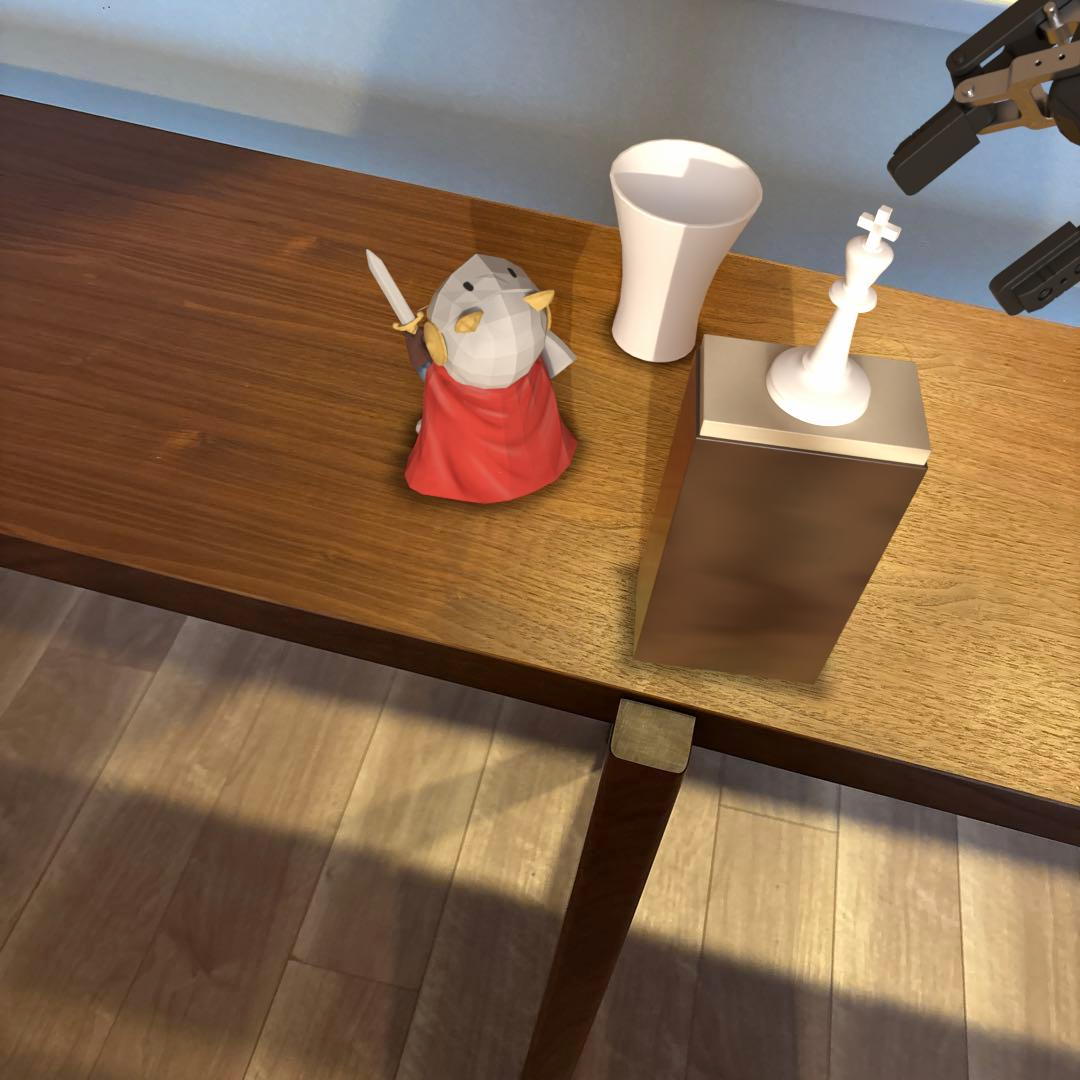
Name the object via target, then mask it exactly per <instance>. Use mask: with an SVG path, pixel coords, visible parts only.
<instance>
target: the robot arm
mask: <svg viewBox="0 0 1080 1080" xmlns="http://www.w3.org/2000/svg"><path fill="white" fill-rule="evenodd" d="M1002 48H1003V49H1002ZM1000 49H1002V51H1001V52H1000V53H999V54H997V55H996V56H995V57H993V58H991V60H989V62H987V63H986V64H985V65H983V66H982V65H981V64H982V63H984V62H985V61H986V60H987V59H989V58H990V57H991V56H992V55H994V54H995V53H996V52H998V51H999V50H1000ZM945 66H946V69H947V71H948V72H949V75H950V78H951V79H950V80H951V83H952V87H953V93H952V96H951V98H950V100H949V101H948V103H947V104H945V105H944V106H943V107H942V108H941V109H940V110H939V111H937V112H936V113H935V114H934V115H932V116H931V117H930V118H929V119H928V120H926V121H925V122H924V123H922V124H921V125H920V126H919V128H916V130H914V131H912V133H911V134H909V135H908V136H907V137H906V138H904V140H902V141H901V142H900V143H899V144H898V146H897V147H896V148H895V149H894V151H893V152H892V155H893V156H891V158H889V160H888V162H887V163H886V170H887V172H888V173H889V175H890V176H891V178H892V179H893V180H894V182H895V183H896V185H897V186H898V187H899V188H900V190H901V191H902V192H903V193H904V194H905V195H906V196H908V197H911V196H914V195H917V194H919V192H921V191H922V190H923V189H925V188H926V187H927V186H928V185H929V184H931V183H932V182H933V181H935V180H936V179H937V178H938V177H940V176H941V175H942V174H943V173H945V171H948V169H949V168H951V167H952V166H953V165H954V164H955V163H957V162H958V161H959V160H961V159H962V158H963V157H964V156H966V155H967V154H968V153H969V152H970V151H972V150H973V149H975V148H976V147H977V146H978V145H980V144H981V141H980V140H979V137H978V136H986V135H990V134H994V133H998V132H1002V131H1006V130H1010V129H1015V128H1019V127H1023V128H1027V129H1029V130H1033V131H1034V130H1036V131H1039V130H1044V129H1048V128H1052V127H1056V128H1057V130H1058V132H1059V133H1060V134H1061V135H1062V136H1063V137H1064V138H1065V139H1066V140H1067V141H1068V142H1070V143H1071V144H1074V145H1075V146H1076V145H1077V146H1079V147H1080V0H1016V1H1015V2H1013V3H1012V4H1011V5H1010V6H1008V7H1007V8H1006V9H1005V10H1003V11H1002V12H1001V13H1000V14H998V15H997V16H996V17H994V18H993V19H991V20H990V21H989V22H988V23H987V24H985V25H984V26H983V27H982V28H980V29H979V30H977V31H976V32H975V33H973V35H972V36H970V37H969V38H967V40H965V41H964V42H962V43H961V44H960V45H958V46H957V47H955V48H954V49H953V50H952V51H951V52H950V53H949V54H948V55H947V57H946V59H945ZM1047 82H1051V84H1050V87H1049V90H1048V92H1046V91H1045V90H1044V88H1043V86H1042V84H1044V83H1047ZM1079 282H1080V224H1079V225H1078V226H1076V225H1074V223H1072V221H1071V220H1067V222H1065V223H1064V224H1063V225H1061V226H1060V227H1059V228H1057V229H1056V230H1055V231H1054V232H1052V233H1050V234H1049V235H1048V236H1047V237H1045V238H1044V239H1043V240H1041V241H1040V242H1039V243H1037V244H1036V245H1035V246H1033V247H1032V248H1031V249H1029V250H1028V251H1026V252H1025V253H1024V254H1023V255H1022V256H1020V257H1018V258H1017V259H1016V260H1015V261H1013V262H1012V263H1011V264H1009V265H1008V266H1007V267H1005V268H1004V269H1002V270H1001V271H1000V272H998V273H996V275H995V276H994V277H992V279H991V280H990V281H989V284H988V288H989V291H990V292H991V294H992V296H993V297H994V299H995V300H996V302H997V304H998V305H999V306H1000V307H1001V308H1002V310H1003V311H1004V312H1005V313H1006V314H1007V315H1008V316H1011V317H1013V316H1018V315H1019V314H1021V313H1023V312H1024V311H1025V312H1027V314H1030V313H1033V312H1036V311H1039V310H1042V309H1044V308H1045V307H1047V306H1048V305H1049V304H1051V303H1052V302H1054V300H1055V299H1058V298H1059V297H1060V296H1061V295H1063V294H1064V293H1065V292H1067V291H1069V290H1070V289H1071V288H1073V287H1074V286H1076V285H1077V284H1078V283H1079Z"/></svg>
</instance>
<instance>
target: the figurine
mask: <svg viewBox="0 0 1080 1080" xmlns="http://www.w3.org/2000/svg"><path fill="white" fill-rule="evenodd" d="M365 254H366V259H367V265H368V268H369V270H370V272H371V274H372V275H373V277H374V279H375V280H376V282H377V284H378V285H379V287H380V290H382V292H383V294H384V296H385V297H386V299H387V301H388V302H389V304H390V306H391V307H392V309H393V311H394V313H395V314H396V316H397V317H398V320H399V321H400V322H398V321H394V322H393V323H392V328H393V329H394V330H396V331H401V332H402V335H403V337H404V338H405V343H406V349H407V353H408V358H409V362H410V365H411V366H412V369H413V370H414V372H415V373H417V374H418V375H419V377H420V378H421V380H422V381H423V382H424V385H423V400H422V401H423V402H422V413H421V419H419V420H418V421H417V422H416V425H415V432H416V433H417V438H416V440H415V443H414V445H413V447H412V449H411V451H410V453H409V455H408V457H407V461H406V466H405V471H404V478H405V480H406V483H407V485H408V487H409V488H410V489H411V490H413V491H415V492H417V493H418V494H421V495H425V496H431V497H436V498H437V497H438V498H444V499H451V500H456V501H463V502H469V503H477V504H484V505H485V504H493V503H500V502H501V503H503V502H508V501H512V500H515V499H518V498H520V497H521V498H522V497H523V496H527V495H530V494H533V493H535V492H537V491H538V490H540V489H542V488H544V487H546V486H548V485H550V484H551V483H553V482H555V481H556V480H557V479H558V478H559V477H560V476H561V475H562V474H563V473H564V471H566V470H567V469H568V468H569V466H570V465H571V464H572V460H573V459H574V455H575V453H576V450H577V447H578V444H579V442H578V440H577V439H576V438H575V437H574V435H573V434H572V432H571V431H570V430H569V428H568V427H567V426H566V424H565V423H564V421H563V418H562V416H561V413H560V410H559V408H558V402H557V398H556V394H555V391H554V387H553V384H552V379H554V378H555V377H557V375H558V374H560V373H561V372H563V371H564V370H565V369H566V368H567V367H568V366H570V365H571V364H572V363H573V362H574V361H576V360H578V356H577V355H575V353H574V352H573V351H572V350H571V349H570V348H569V346H568V345H566V343H565V342H564V341H563V340H561V338H559V337H558V336H557V335H556V334H555V333H554V332H552V330H551V325H552V312H551V309H550V305H551V304H552V303H553V300H554V296H555V289H551V288H547V289H545V290H540V289H539V288H538V287H537V286H536V284H535V283H534V281H532V279H531V278H530V277H529V276H528V275H527V273H526V272H525V271H524V269H523V268H522V267H520V266H518V265H517V264H515V263H513V262H511V261H509V260H507V259H506V258H503V257H497V256H492V255H487V254H480V253H475V254H473V255H472V256H471V257H469V258H468V259H466V260H465V261H464V262H463V263H462V264H461V265H459V266H458V267H457V268H456V269H455V270H454V271H452V273H450V274H449V275H448V276H447V277H446V278H445V279H444V280H443V281H442V283H441V284H440V285H439V286H438V288H437V289H436V290H435V291H434V293H433V295H432V296H431V299H430V301H429V303H428V305H426V306H424V307H421V308H420V309H418V310H417V313H416V316H417V317H415V315H414V312H412V310H411V308H410V306H409V304H408V302H407V301H406V299H405V298H404V296H403V294H402V292H401V291H400V289H399V288H398V286H397V284H396V282H395V280H394V279H393V277H392V275H391V273H390V272H389V271H388V269H387V267H386V265H385V264H384V262H383V260H382V259H381V258H379V256H377V255H376V254H375V253H374V252H373V251H372V250H370V249H367V248H366V250H365ZM424 309H426V318H427V319H425V320H424V321H422V319H423V318H424V316H425V312H424V311H423V310H424ZM420 321H422V323H421V324H420V325H419V324H418V323H419V322H420ZM423 324H424V325H423ZM421 325H423V326H421Z"/></svg>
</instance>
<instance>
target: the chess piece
mask: <svg viewBox="0 0 1080 1080" xmlns="http://www.w3.org/2000/svg"><path fill="white" fill-rule="evenodd" d="M893 209H894V208H892V207H890V206H887V205H885V204H882V205H881V206H880V207H879V208H878V210H877V212H876V213H877V214H876V216H875V215H873V214H871V213H869V212H866V211H863V213H862V214H861V215H860V216H859V218H858V221H857V224H856V226H857V227H860V228H862V229H864V230H867V231H868V232H869V234H868V235H867V234H865V235H864V234H863V235H857V236H854V237H852V238H850V239H849V240H848V241H847V243H846V244H845V253H844V255H845V277H843V278H842V277H841V278H840V279H836V280H835V281H834V282H833V283H832V284H831V285H830V286H829V288H828V293H827V294H828V298H829V300H830V301H831V303H833V304H834V305H835V306H836V307H835V309H834V311H833V313H832V314H831V316H830V319H829V321H828V322H827V324H826V326H825V328H824V330H823V331H822V334H821V335H820V337H819V339H818V341H817V342H816V344H815V345H798V347H794V348H791V349H788V350H786V351H784V352H782V353H781V354H780V355H778V356H777V357H776V359H775V360H774V362H773V363H772V366H771V367H770V369H769V371H768V373H767V376H766V386H767V390H768V392H769V394H770V396H771V398H772V399H773V401H774V402H775V403H776V404H777V405H778V406H779V407H780V408H781V409H782V410H784V411H785V412H787V413H788V414H790V415H791V416H793V417H795V418H797V419H799V420H802V421H805V422H808V423H811V424H816V425H822V426H838V425H843V424H847V423H850V422H852V421H854V420H856V419H858V418H859V417H860V416H861V415H862V414H863V413H864V412H865V410H866V409H867V406H868V402H869V397H870V394H871V385H870V381H869V379H868V377H867V375H866V373H865V372H864V370H863V369H862V368H861V367H860V366H859V365H858V364H857V363H856V362H855V361H854V360H852V359H851V358H849V357H848V354H849V353H850V350H851V344H852V340H853V335H854V332H855V327H856V324H857V320H858V316H859V314H864V313H867V312H870V311H872V310H873V309H875V307H876V306H877V303H878V294H877V291H876V290H875V289H874V287H872V285H873V284H874V283H875V282H876V281H877V279H878V278H879V277H880V276H881V274H882V273H883V272H885V271H886V270H887V268H888V267H889V266H890V265H891V263H892V262H893V261H894V257H895V253H894V250H893V247H891V245H890V244H889V243H887V242H886V241H884V239H887V240H888V241H891V242H893V243H894V242H895V241H896V240H897V239H898V238H899V237H900V233H901V231H902V228H903V227H900V226H897V225H896V224H893V223H891V222H889V220H890V217H891V215H892V212H893ZM882 238H884V239H882Z"/></svg>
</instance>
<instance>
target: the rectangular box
mask: <svg viewBox="0 0 1080 1080" xmlns="http://www.w3.org/2000/svg"><path fill="white" fill-rule="evenodd" d="M798 346H799V345H798ZM798 346H797V345H791V344H783V343H776V342H768V341H761V340H753V339H746V338H738V337H731V336H724V335H716V334H709V333H704V334H703V337H702V341H701V344H700V347H699V346H697V347H696V348H695V350H694V354H693V358H692V362H691V366H690V369H689V373H688V378H687V382H686V386H685V389H684V393H683V396H682V401H681V405H680V409H679V411H678V412H679V413H678V417H677V421H676V424H675V428H674V432H673V436H672V439H671V444H670V447H669V450H668V451H669V452H668V455H667V459H666V463H665V467H664V470H663V475H662V478H661V482H660V486H659V490H658V494H657V498H656V502H655V506H654V510H653V513H652V517H651V521H650V524H649V525H650V526H649V529H648V532H647V537H646V540H645V544H644V549H643V552H642V556H641V559H640V563H639V568H638V572H637V575H636V576H637V577H636V593H635V610H634V611H635V614H634V630H633V631H634V632H633V649H632V660H633V662H641V663H649V664H656V665H665V666H672V667H680V668H688V669H695V670H702V671H709V672H716V673H717V672H718V673H724V674H725V673H726V674H732V675H740V676H746V677H747V676H748V677H755V678H762V679H763V678H764V679H770V680H778V681H785V682H793V683H799V684H800V683H801V684H806V685H807V684H809V685H815V684H816V682H817V681H818V679H819V677H820V675H821V673H822V671H823V670H824V668H825V665H826V664H827V661H828V660H829V658H830V656H831V654H832V652H833V650H834V648H835V646H836V645H837V643H838V641H839V639H840V637H841V635H842V634H843V631H844V630H845V628H846V626H847V624H848V622H849V621H850V618H851V616H852V615H853V613H854V610H855V609H856V607H857V605H858V603H859V601H860V599H861V597H862V595H863V593H864V592H865V590H866V588H867V586H868V583H869V582H870V580H871V578H872V576H873V574H874V573H875V571H876V568H877V567H878V565H879V564H880V561H881V559H882V557H883V556H884V553H885V551H886V550H887V548H888V546H889V544H890V542H891V540H892V538H893V536H894V534H895V533H896V530H897V529H898V527H899V525H900V523H901V521H902V519H903V518H904V515H905V513H906V512H907V510H908V508H909V506H910V504H911V502H912V500H913V498H914V497H915V495H916V493H917V491H918V489H919V488H920V486H921V484H922V481H923V480H924V478H925V477H926V474H927V473H928V470H929V466H928V465H929V464H928V459H929V457H930V456H931V453H932V446H931V439H930V434H929V429H928V423H927V416H926V411H925V406H924V402H923V395H922V394H923V393H922V389H921V383H920V378H919V373H918V367H917V362H916V361H911V360H901V359H894V358H887V357H879V356H873V355H864V354H858V353H850V352H849V354H848V357H849V358H851V359H852V360H854V361H855V362H856V363H857V364H858V365H859V366H860V367H861V368H862V369H863V370H864V372H865V373H866V375H867V377H868V379H869V381H870V385H871V394H870V397H869V402H868V406H867V409H866V410H865V412H864V413H863V414H862V415H861V416H860V417H859V418H858V419H856V420H854V421H852V422H850V423H847V424H843V425H838V426H822V425H816V424H811V423H808V422H805V421H802V420H799V419H797V418H795V417H793V416H791V415H790V414H788V413H787V412H785V411H784V410H782V409H781V408H780V407H779V406H778V405H777V404H776V403H775V402H774V401H773V399H772V398H771V396H770V394H769V392H768V390H767V386H766V376H767V373H768V371H769V369H770V367H771V366H772V363H773V362H774V360H775V359H776V357H777V356H778V355H780V354H781V353H782V352H784V351H786V350H788V349H791V348H794V347H798Z"/></svg>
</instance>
